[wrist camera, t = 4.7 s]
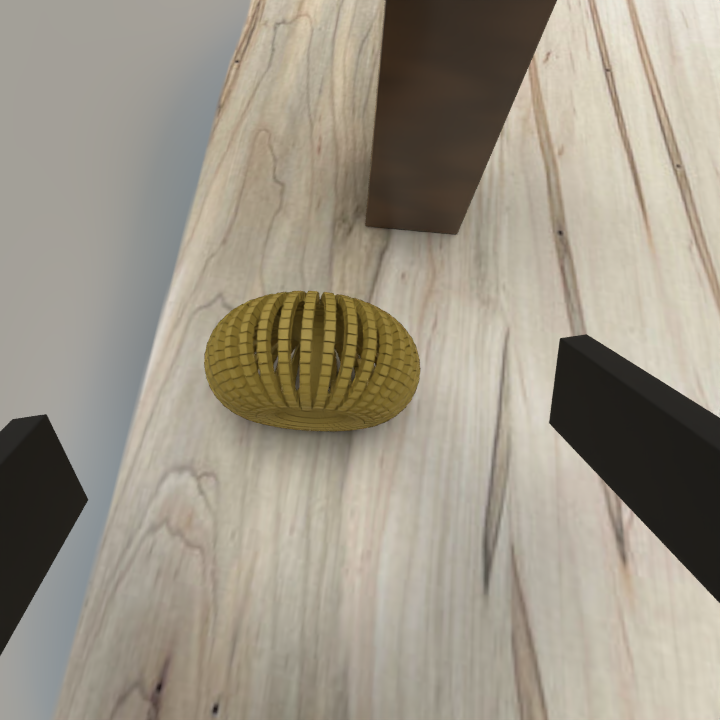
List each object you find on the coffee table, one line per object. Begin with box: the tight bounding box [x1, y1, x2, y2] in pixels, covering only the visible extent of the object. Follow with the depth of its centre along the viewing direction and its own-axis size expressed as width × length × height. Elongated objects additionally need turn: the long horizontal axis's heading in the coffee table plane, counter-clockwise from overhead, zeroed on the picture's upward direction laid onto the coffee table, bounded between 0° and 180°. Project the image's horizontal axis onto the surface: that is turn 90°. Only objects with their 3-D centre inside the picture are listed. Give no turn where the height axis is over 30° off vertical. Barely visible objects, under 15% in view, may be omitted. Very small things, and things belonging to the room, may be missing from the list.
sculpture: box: [204, 291, 420, 431], centre depth 17 cm, size 8×4×8 cm, turn 88°
